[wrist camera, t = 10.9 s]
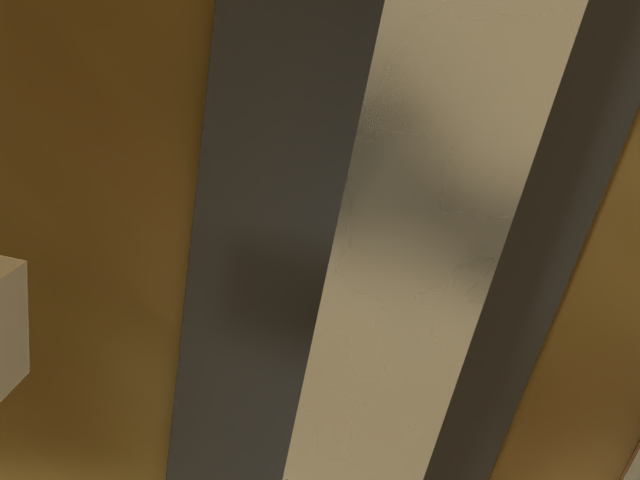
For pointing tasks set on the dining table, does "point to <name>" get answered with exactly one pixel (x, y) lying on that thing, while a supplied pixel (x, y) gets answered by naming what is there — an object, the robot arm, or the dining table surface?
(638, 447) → the hook rack
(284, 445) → the rubber mat
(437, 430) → the steel rail
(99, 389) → the dining table surface
